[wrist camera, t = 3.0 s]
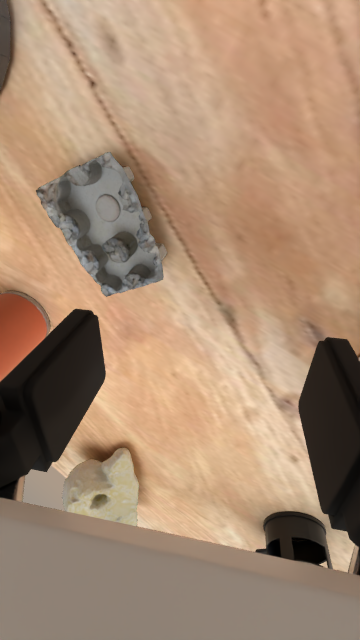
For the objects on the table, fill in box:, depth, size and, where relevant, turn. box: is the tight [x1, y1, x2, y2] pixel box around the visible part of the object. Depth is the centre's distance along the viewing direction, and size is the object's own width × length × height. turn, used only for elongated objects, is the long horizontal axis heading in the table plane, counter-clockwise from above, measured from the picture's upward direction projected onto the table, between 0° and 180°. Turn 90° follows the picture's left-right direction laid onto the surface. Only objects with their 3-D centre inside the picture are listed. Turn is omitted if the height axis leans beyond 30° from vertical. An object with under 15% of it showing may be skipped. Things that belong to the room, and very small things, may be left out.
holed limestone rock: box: [62, 447, 139, 526], centre depth 45 cm, size 15×7×15 cm
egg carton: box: [36, 152, 167, 297], centre depth 25 cm, size 11×8×4 cm
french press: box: [256, 512, 333, 569], centre depth 37 cm, size 12×9×23 cm
